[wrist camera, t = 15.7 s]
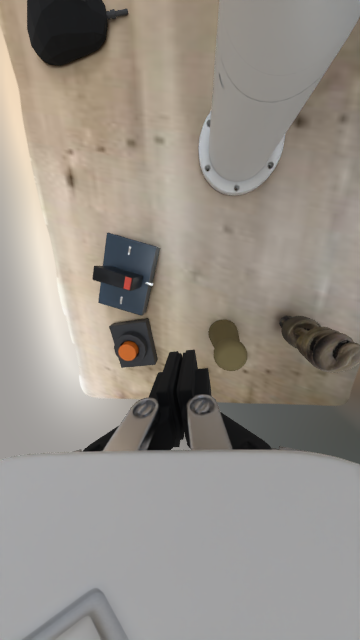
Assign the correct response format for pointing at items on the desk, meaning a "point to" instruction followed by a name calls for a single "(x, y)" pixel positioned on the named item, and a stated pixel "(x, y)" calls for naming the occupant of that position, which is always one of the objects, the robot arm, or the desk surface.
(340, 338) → the brown ridged cylinder
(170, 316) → the desk surface
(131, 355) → the button
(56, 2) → the gaming mouse
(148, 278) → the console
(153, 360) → the button box
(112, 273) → the black box red end
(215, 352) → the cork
